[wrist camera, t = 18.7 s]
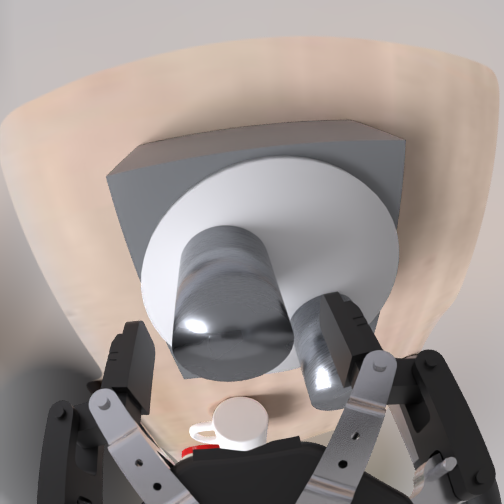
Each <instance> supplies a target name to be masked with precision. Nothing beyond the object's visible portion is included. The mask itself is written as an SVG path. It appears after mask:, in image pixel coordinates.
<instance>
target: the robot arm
mask: <svg viewBox="0 0 504 504" xmlns="http://www.w3.org/2000/svg"><path fill="white" fill-rule="evenodd" d="M319 323H320V328H321V331H322V334H323V337H324V339H325V342H326V344H327V347H328V349H329V352H330V354H331V357H332V359H333V362H334V364H335V367H336V370H337V372H338V375H339V377H340V380H341V383H342V385H343V388H346V387H349V386H351V388H352V393H351V395H350V397H349V399H348V401H347V404H346V406H345V408H344V411H343V413H342V415H341V418H340V420H339V422H338V424H337V426H336V429H335V431H334V433H333V435H332V437H331V439H330V442H329V444H328V446H327V447H325V446H322V445H320V444H316V443H312V442H301V441H300V437H299V436H296V437H291V438H286V439H281V440H275V441H271V442H269V443H267V444H264V445H262V446H259V447H256V448H254V449H251V450H248V451H239V450H231V449H223V448H210V449H193V456H190V457H187V458H185V459H183V460H181V461H179V462H178V463H177V464H175V463H173V461H172V460H171V459H170V458H169V457H168V456H167V455H166V454H165V453H164V451H163V450H162V449H161V448H160V447H159V445H158V444H157V443H156V442H155V440H154V439H153V438H152V436H151V435H150V434H149V432H148V431H147V430H146V428H145V427H144V426H143V424H142V423H141V415H149V412H150V400H151V389H152V379H153V370H154V361H155V347H154V343H153V341H152V339H151V337H150V335H149V333H148V331H147V328H146V326H145V324H144V322H143V321H132V322H126V323H125V326H124V330H123V334H117V336H116V337H115V339H114V340H113V342H112V343H111V347H110V351H109V353H110V354H109V355H108V359H107V360H108V361H107V363H106V367H105V372H104V376H103V380H102V385H101V389H100V390H98V391H96V392H95V393H94V394H93V395H92V396H91V398H90V400H89V402H86V403H83V404H79V405H75V406H72V405H71V404H70V403H69V402H67V401H63V400H62V401H58V402H56V403H55V404H54V405H53V406H52V407H51V408H50V410H49V414H48V419H47V424H46V430H45V435H44V441H43V447H42V454H41V462H40V472H39V481H38V495H37V504H103V501H102V500H103V497H102V487H103V485H102V484H103V481H102V480H103V479H102V478H103V453H104V444H109V446H108V450H109V451H110V453H111V455H112V457H113V458H114V460H115V461H116V463H117V464H118V466H119V467H120V469H121V471H122V472H123V473H124V475H125V476H126V478H127V479H128V481H129V482H130V483H131V485H132V486H133V487H134V489H135V490H136V492H137V493H138V494H139V496H140V497H141V498H142V500H143V502H142V504H502V503H501V498H500V493H499V489H498V485H497V482H496V479H495V475H496V473H495V468H494V465H493V463H492V460H491V458H490V455H489V452H488V450H487V447H486V445H485V442H484V440H483V438H482V435H481V433H480V431H479V429H478V426H477V424H476V422H475V419H474V417H473V415H472V413H471V411H470V408H469V406H468V404H467V402H466V400H465V398H464V396H463V394H462V392H461V390H460V389H459V386H458V384H457V382H456V380H455V379H454V376H453V374H452V373H451V371H450V369H449V367H448V365H447V363H446V362H445V360H444V358H443V357H442V355H441V354H440V353H438V352H437V351H434V350H424V351H421V352H420V353H419V354H418V355H413V356H410V357H407V358H404V359H401V358H394V356H393V355H392V354H390V353H388V352H386V351H383V349H382V348H381V346H380V344H379V342H378V340H377V338H376V337H375V335H374V333H373V331H372V329H371V327H370V326H369V324H368V322H367V320H366V318H365V317H364V315H363V313H362V311H361V310H360V308H359V307H358V306H357V305H356V304H355V303H353V302H352V301H351V300H350V301H345V302H344V301H343V299H342V297H341V295H340V293H339V292H332V293H327V294H322V295H321V301H320V315H319ZM386 405H388V406H389V408H390V411H391V413H392V415H393V417H394V419H395V422H396V424H397V426H398V429H399V431H400V433H401V436H402V438H403V441H404V443H405V445H406V448H407V450H408V452H409V455H410V457H411V460H412V462H413V464H414V468H415V470H416V472H415V474H414V477H413V481H414V489H413V492H412V494H411V496H410V497H408V496H406V495H405V494H403V493H402V492H400V491H398V490H396V489H394V488H392V487H391V486H389V485H387V484H385V483H384V482H382V481H380V480H378V479H377V478H375V477H373V476H371V475H370V474H368V473H367V472H365V471H364V470H365V468H366V465H367V463H368V460H369V458H370V456H371V453H372V450H373V448H374V445H375V442H376V440H377V437H378V434H379V431H380V428H381V425H382V422H383V420H384V417H385V413H386V410H385V407H386Z"/></svg>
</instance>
